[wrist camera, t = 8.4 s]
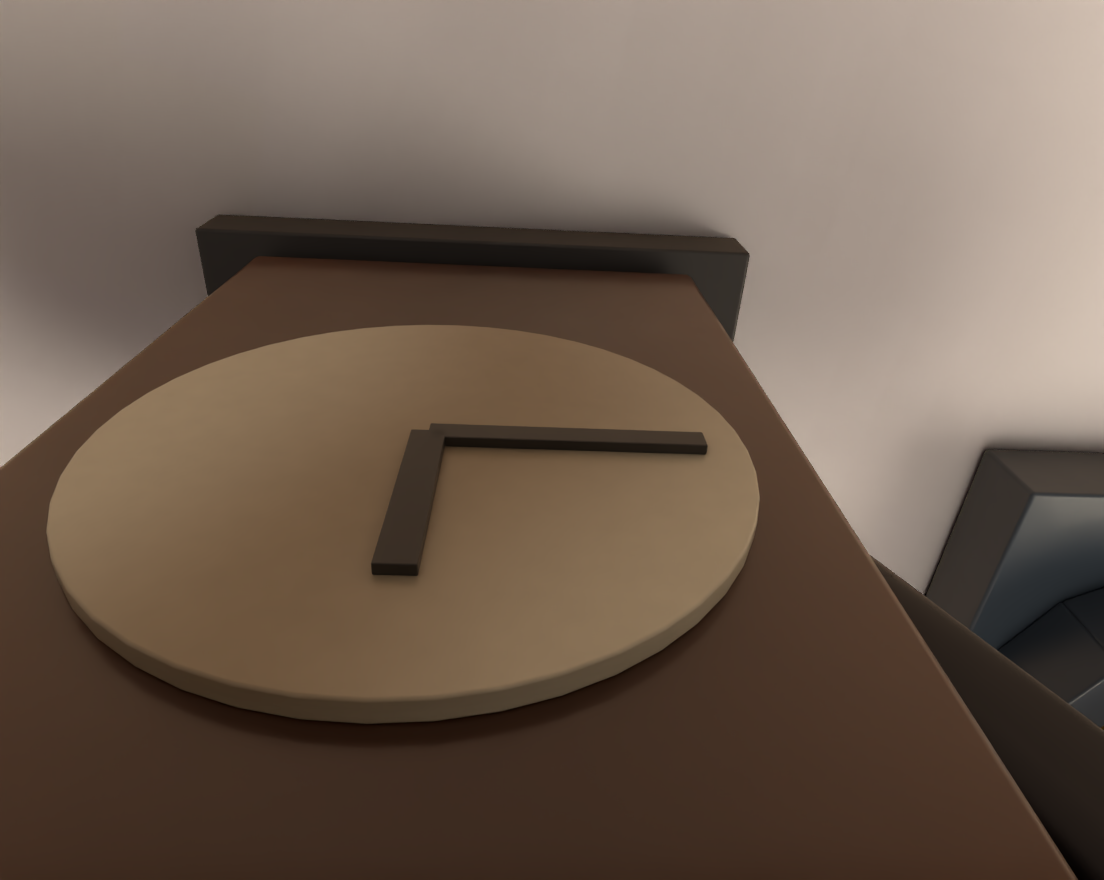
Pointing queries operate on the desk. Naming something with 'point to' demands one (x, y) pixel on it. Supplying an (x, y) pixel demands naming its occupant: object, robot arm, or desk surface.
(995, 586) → the switch block
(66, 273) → the desk surface
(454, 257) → the dark grey flat slab
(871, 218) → the desk surface
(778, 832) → the alarm clock
